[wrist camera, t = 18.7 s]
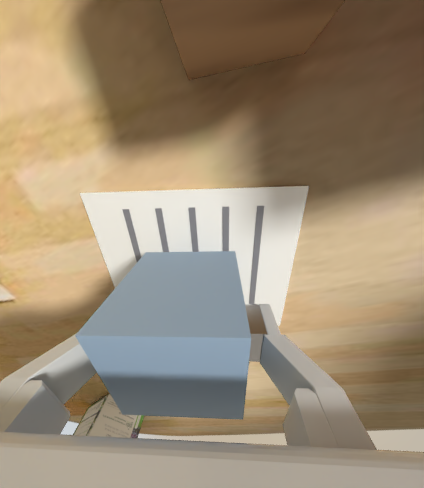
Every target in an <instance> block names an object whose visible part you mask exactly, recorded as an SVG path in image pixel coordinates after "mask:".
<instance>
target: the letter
mask: <svg viewBox="0 0 424 488" xmlns="http://www.w3.org/2000/svg"><path fill="white" fill-rule="evenodd" d="M308 189H309V186H280V187H248V188H216V189H184V190H153V191H121V192H89V193H80V195H81V198H82V201H83V203H84V206H85V209H86V211H87V214H88V217H89V220H90V222H91V225H92V228H93V230H94V233H95V236H96V238H97V241H98V244H99V247H100V249H101V252H102V255H103V257H104V260H105V263H106V265H107V268H108V271H109V274H110V276H111V279H112V282H113V284H114V287H115V288H116V287H117V286H118V284H119V283H120V282H121V281H122V280H123V279H124V277H125V276H126V275H127V274H128V273H129V272H130V270H131V269H132V268H133V267H134V266H135V264H136V263H137V262H138V261H139V260H140V259H141V257H142V256H143V255H144V254H145V253H146V252H210V251H235V253H236V258H237V264H238V269H239V275H240V280H241V285H242V291H243V296H244V302H245V304H269V305H270V306H271V309H272V312H273V314H274V317H275V320H276V323H277V325H278V326H280V323H281V318H282V313H283V308H284V304H285V299H286V294H287V289H288V285H289V280H290V275H291V270H292V266H293V261H294V256H295V251H296V247H297V242H298V237H299V232H300V228H301V223H302V218H303V213H304V208H305V204H306V199H307V194H308Z"/></svg>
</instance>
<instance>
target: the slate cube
mask: <svg viewBox="0 0 424 488" xmlns="http://www.w3.org/2000/svg"><path fill="white" fill-rule="evenodd" d="M75 337H76V338H77V340H78V342H79V343H80V345H81V347H82V348H83V350H84V351H85V353H86V355H87V356H88V358H89V360H90V361H91V363H92V365H93V366H94V368H95V370H96V371H97V373H98V375H99V376H100V378H101V380H102V381H103V383H104V385H105V386H106V388H107V390H108V391H109V393H110V395H111V396H112V398H113V400H114V401H115V403H116V405H117V406H118V408H119V410H120V411H121V413H122V415H145V416H170V417H194V418H219V419H243V415H244V405H245V395H246V385H247V375H248V366H249V356H250V346H251V334H250V328H249V323H248V318H247V312H246V307H245V302H244V296H243V291H242V285H241V280H240V275H239V269H238V264H237V258H236V253H235V251H210V252H146V253H145V254H144V255H143V256H142V257H141V259H140V260H139V261H138V262H137V263H136V264H135V266H134V267H133V268H132V269H131V270H130V272H129V273H128V274H127V275H126V276H125V277H124V279H123V280H122V281H121V282H120V283H119V284H118V286H117V287H116V288H115V289H114V290H113V291H112V293H111V294H110V295H109V296H108V297H107V299H106V300H105V301H104V302H103V303H102V304H101V306H100V307H99V308H98V309H97V310H96V311H95V313H94V314H93V315H92V316H91V317H90V318H89V320H88V321H87V322H86V323H85V324H84V326H83V327H82V328H81V329H80V330H79V331H78V333H77V334H76V335H75Z"/></svg>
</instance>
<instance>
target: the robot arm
mask: <svg viewBox="0 0 424 488" xmlns="http://www.w3.org/2000/svg"><path fill="white" fill-rule="evenodd" d="M245 307H246V312H247V318H248V323H249V328H250V334H251V346H250V356H249V361H256V362H260V364H261V365H262V367H263V368H264V369H265V371H266V372H267V374H268V375H269V377H270V378H271V380H272V381H273V382H274V384H275V385H276V387H277V388H278V390H279V391H280V393H281V394H282V395H283V397H284V398H285V400H286V401H287V403H288V404H289V409H288V412H287V414H286V417H285V420H284V423H283V429H284V433H285V436H286V441H287V445H288V446H285V445H266V444H244V443H224V442H203V441H182V440H162V439H139V438H121V437H100V436H79V435H60V433H61V431H62V430H63V428H64V426H65V425H66V423H67V421H68V420H69V418H70V411H69V410H68V409H67V408H66V407H65V406H64V404H65V403H66V402H67V401H68V400H69V399H70V398H71V397H72V396H73V395H74V394H75V393H76V392H77V391H78V390H79V389H80V388H81V387H82V386H83V385H84V384H85V383H86V382H87V381H88V380H89V379H90V378H91V377H92V376H94V375H95V374H96V373H97V371H96V370H95V368H94V366H93V365H92V363H91V361H90V360H89V358H88V356H87V355H86V353H85V351H84V350H83V348H82V347H81V345H80V343H79V342H78V340H77V338H76V337H75V335H76V334H77V333H76V334H74V335H73V336H71V337H70V338H68V339H66V340H65V341H63V342H62V343H60V344H58V345H57V346H55V347H54V348H52V349H50V350H49V351H47V352H46V353H44V354H42V355H41V356H39V357H38V358H36V359H34V360H33V361H31V362H30V363H28V364H26V365H25V366H23V367H21V368H20V369H18V370H17V371H15V372H13V373H12V374H10V375H9V376H7V377H5V378H4V379H3V380H2V381H1V382H0V488H424V452H409V451H391V450H390V451H389V450H377V449H376V448H375V446H374V444H373V442H372V440H371V438H370V436H369V435H368V433H367V431H366V429H365V427H364V426H363V424H362V422H361V420H360V418H359V417H358V415H357V413H356V411H355V409H354V408H353V406H352V404H351V402H350V400H349V399H348V397H347V395H346V393H345V391H344V390H343V388H342V387H341V386H340V385H338V384H337V383H336V382H335V381H334V380H333V379H332V378H331V377H330V376H329V375H328V374H326V373H325V372H324V371H323V370H322V369H321V368H320V367H319V366H318V365H317V364H316V363H315V362H313V361H312V360H311V359H310V358H309V357H308V356H307V355H306V354H305V353H304V352H303V351H301V350H300V349H299V348H298V347H297V346H296V345H295V344H294V343H293V342H292V341H291V340H290V339H288V338H287V337H286V336H285V335H281V333H280V331H279V328H278V325H277V323H276V320H275V317H274V314H273V312H272V309H271V306H270V305H269V304H245Z"/></svg>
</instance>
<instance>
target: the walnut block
mask: <svg viewBox="0 0 424 488" xmlns="http://www.w3.org/2000/svg"><path fill="white" fill-rule="evenodd" d="M160 1H161V4H162V7H163V9H164V12H165V15H166V18H167V20H168V23H169V26H170V29H171V32H172V34H173V37H174V40H175V43H176V46H177V48H178V51H179V54H180V57H181V60H182V62H183V65H184V68H185V71H186V74H187V76H188V79H189V80H190V79H195V78H199V77H204V76H208V75H212V74H217V73H221V72H226V71H230V70H234V69H239V68H243V67H248V66H252V65H256V64H261V63H265V62H270V61H274V60H279V59H283V58H287V57H292V56H296V55H301V54H305V52H306V51H307V50H308V49H309V47H310V46H311V45H312V43H313V42H314V41H315V39H316V38H317V37H318V35H319V34H320V33H321V31H322V30H323V29H324V27H325V26H326V25H327V24H328V22H329V21H330V20H331V18H332V17H333V16H334V14H335V13H336V12H337V10H338V9H339V8H340V6H341V5H342V4H343V2H344V1H345V0H160Z"/></svg>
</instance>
